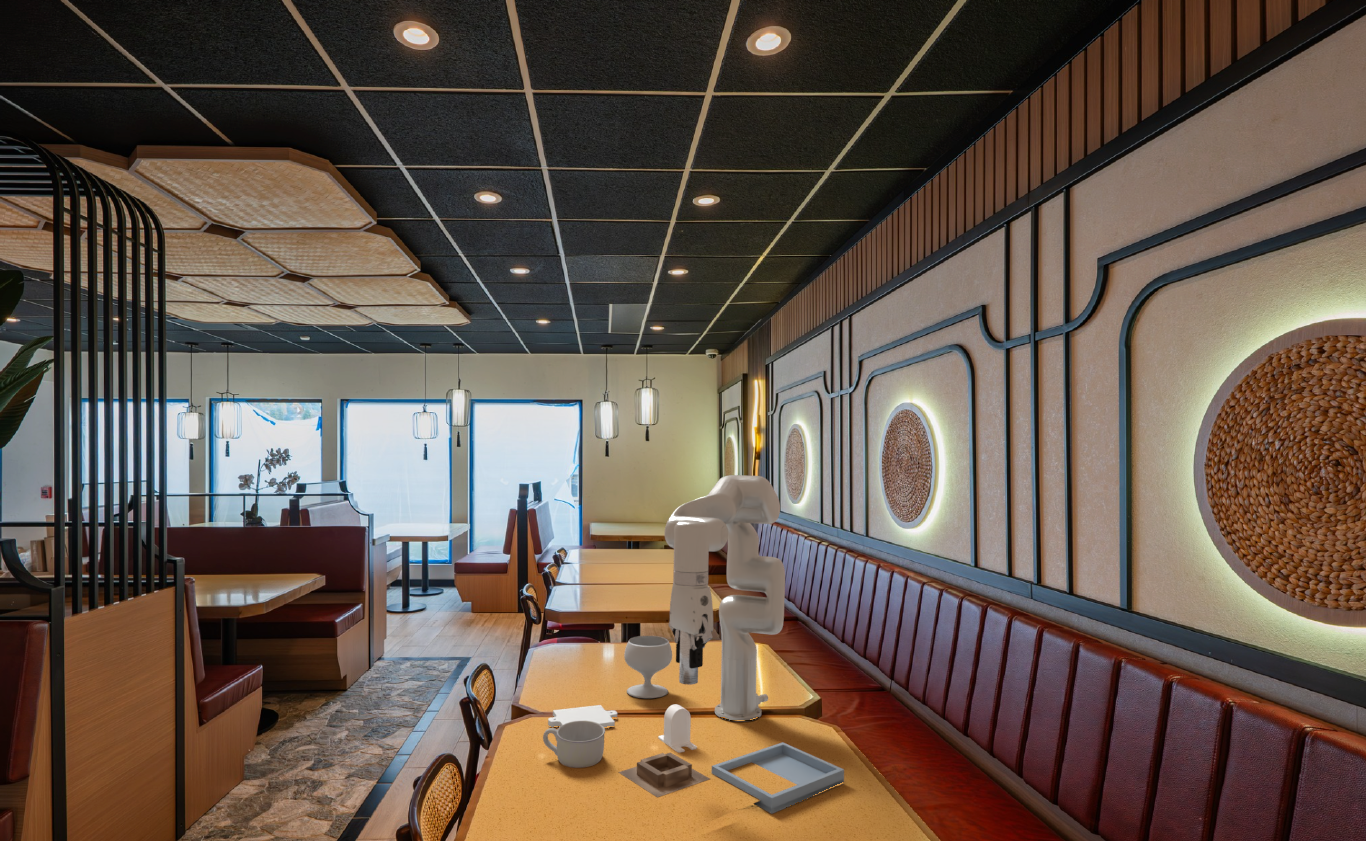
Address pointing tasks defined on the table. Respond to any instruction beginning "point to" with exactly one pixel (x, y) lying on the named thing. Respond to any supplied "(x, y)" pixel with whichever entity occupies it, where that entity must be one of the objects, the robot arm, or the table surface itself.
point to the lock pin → (686, 661)
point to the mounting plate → (583, 716)
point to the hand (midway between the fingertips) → (689, 663)
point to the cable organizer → (677, 728)
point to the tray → (783, 775)
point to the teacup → (577, 743)
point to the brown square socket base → (663, 774)
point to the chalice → (648, 663)
